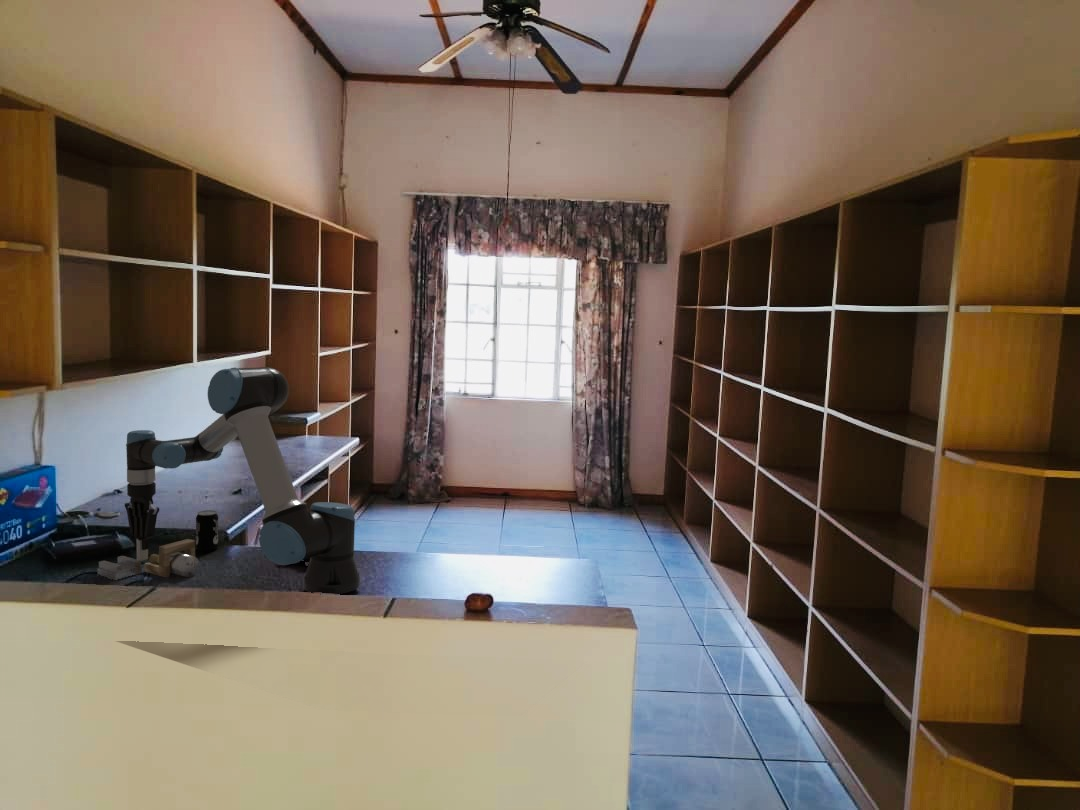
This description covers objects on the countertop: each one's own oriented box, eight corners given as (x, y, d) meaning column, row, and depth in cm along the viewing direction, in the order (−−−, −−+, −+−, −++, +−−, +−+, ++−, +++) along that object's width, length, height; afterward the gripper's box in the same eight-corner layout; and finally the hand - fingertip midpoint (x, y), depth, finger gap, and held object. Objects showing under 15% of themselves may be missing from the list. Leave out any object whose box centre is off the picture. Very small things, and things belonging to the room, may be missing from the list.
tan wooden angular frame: (195, 568, 227) (194, 540, 226) (166, 577, 218) (165, 548, 217) (173, 563, 231) (173, 535, 230) (144, 571, 223) (144, 542, 222)
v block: (141, 572, 221) (141, 560, 221) (115, 580, 214) (115, 567, 214) (124, 567, 225) (123, 555, 225) (97, 575, 218) (97, 562, 217)
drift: (171, 570, 225) (179, 567, 228) (170, 561, 225) (178, 558, 227) (149, 564, 230) (157, 561, 232) (148, 555, 229) (156, 552, 232)
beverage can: (210, 552, 242) (209, 515, 241) (191, 550, 244) (191, 513, 243) (222, 547, 249) (222, 511, 248) (204, 545, 250) (204, 509, 249)
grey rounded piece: (200, 572, 223) (198, 553, 222) (182, 580, 218) (179, 560, 217) (179, 566, 227) (177, 547, 226) (161, 574, 222) (159, 555, 221)
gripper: (167, 483, 228) (168, 560, 231) (139, 477, 234) (140, 552, 237) (144, 487, 222) (145, 566, 224) (115, 481, 227) (116, 558, 230)
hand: (142, 559), depth 230 cm, fingers closed
